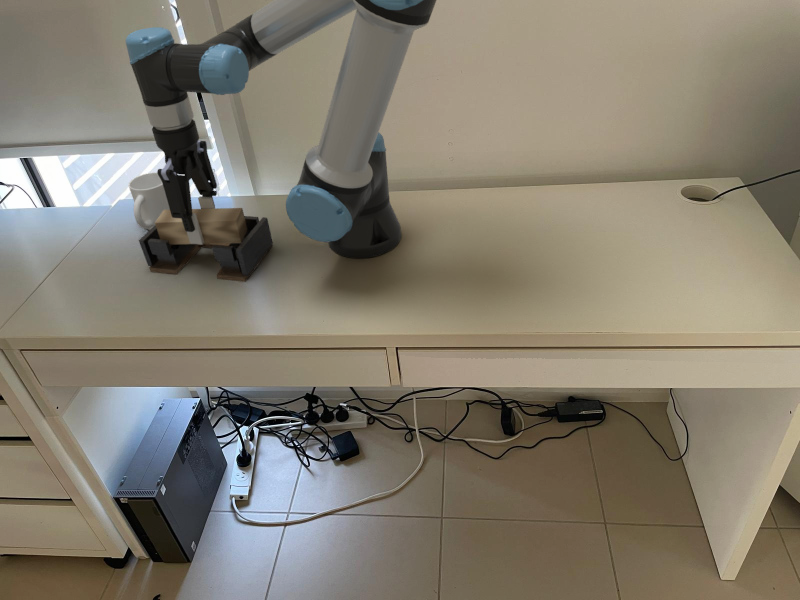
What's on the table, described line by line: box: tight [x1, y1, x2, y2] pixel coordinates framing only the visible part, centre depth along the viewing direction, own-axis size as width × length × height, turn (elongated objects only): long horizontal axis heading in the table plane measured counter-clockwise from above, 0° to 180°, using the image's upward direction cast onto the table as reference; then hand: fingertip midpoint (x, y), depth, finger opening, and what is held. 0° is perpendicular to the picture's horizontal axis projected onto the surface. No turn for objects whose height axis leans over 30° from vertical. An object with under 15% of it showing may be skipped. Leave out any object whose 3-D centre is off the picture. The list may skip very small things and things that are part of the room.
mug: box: [128, 172, 170, 230], centre depth 140 cm, size 12×8×10 cm
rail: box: [155, 207, 247, 244], centre depth 126 cm, size 16×5×5 cm, turn 87°
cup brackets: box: [138, 215, 274, 283], centre depth 129 cm, size 22×13×7 cm, turn 75°
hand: (205, 234), depth 127 cm, fingers closed on rail, 6 cm apart
